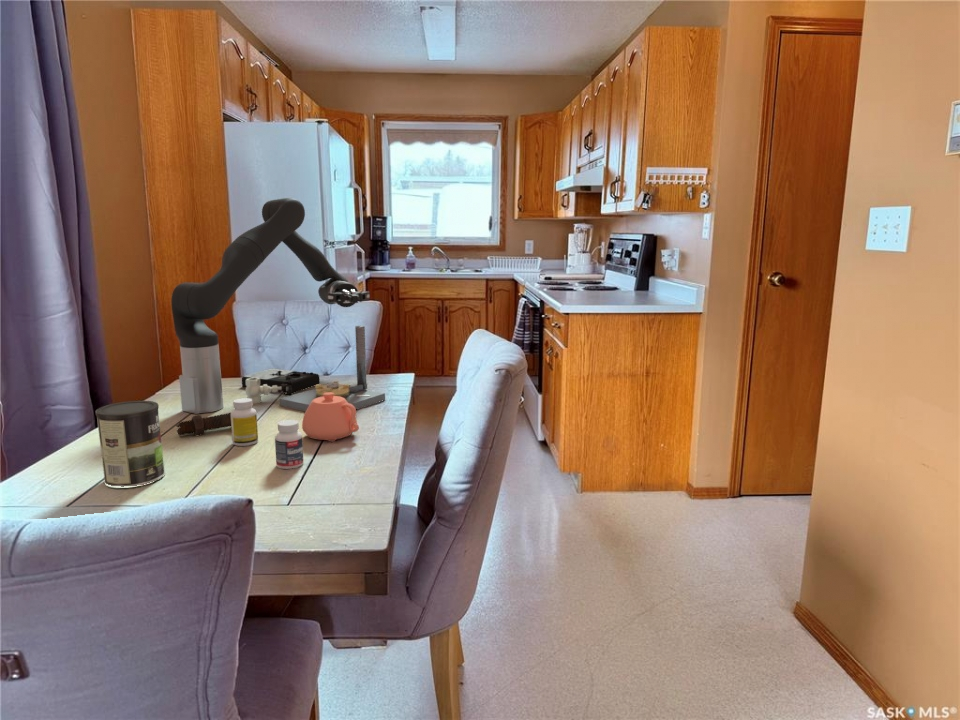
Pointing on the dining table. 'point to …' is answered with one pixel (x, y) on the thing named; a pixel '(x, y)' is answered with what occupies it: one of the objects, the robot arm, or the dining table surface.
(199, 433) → the bolt
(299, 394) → the base plate
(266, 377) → the multimeter
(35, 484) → the dining table surface
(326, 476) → the dining table surface
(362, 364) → the brass hub with handle
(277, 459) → the pill bottle
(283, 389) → the valve
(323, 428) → the sugar bowl
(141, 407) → the coffee can
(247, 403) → the supplement bottle
